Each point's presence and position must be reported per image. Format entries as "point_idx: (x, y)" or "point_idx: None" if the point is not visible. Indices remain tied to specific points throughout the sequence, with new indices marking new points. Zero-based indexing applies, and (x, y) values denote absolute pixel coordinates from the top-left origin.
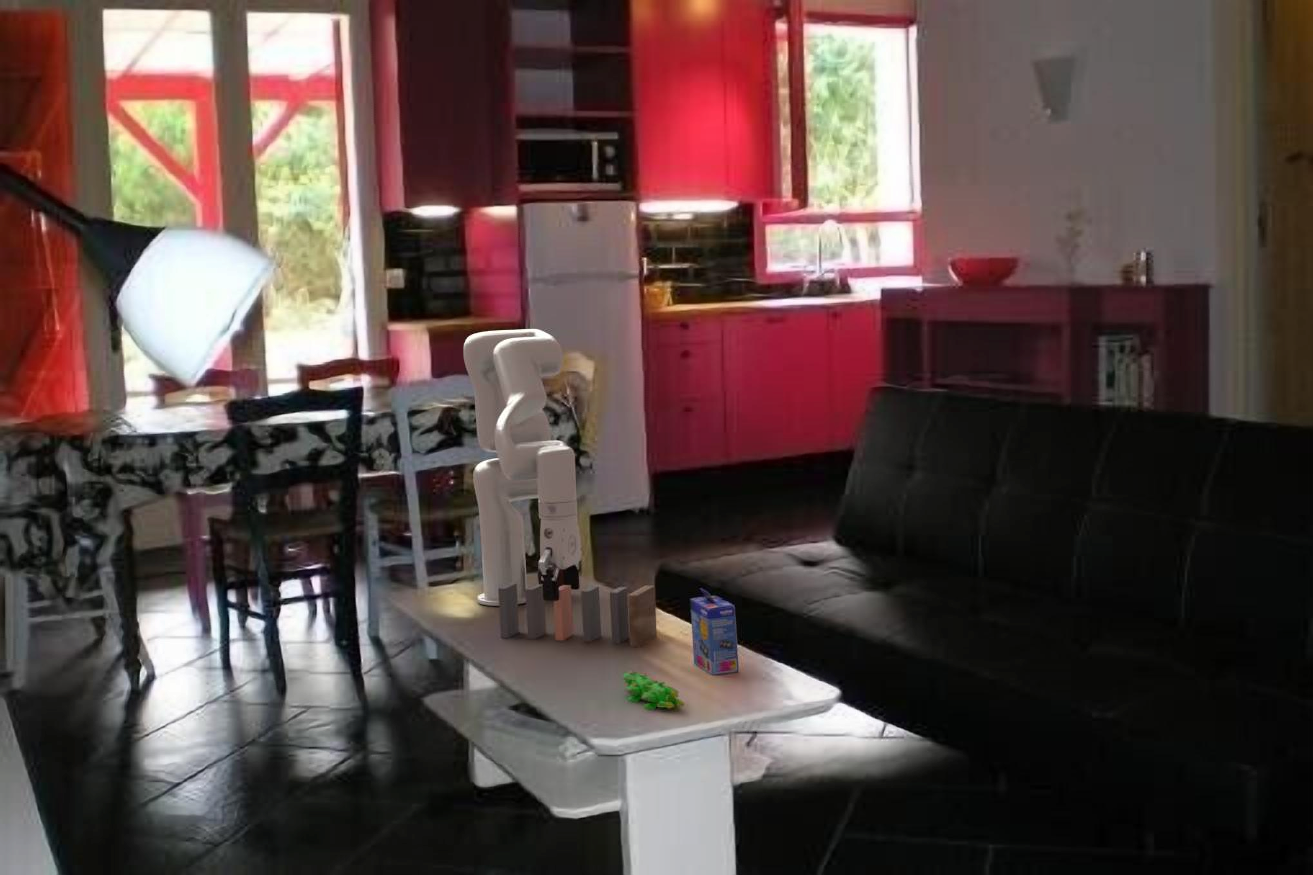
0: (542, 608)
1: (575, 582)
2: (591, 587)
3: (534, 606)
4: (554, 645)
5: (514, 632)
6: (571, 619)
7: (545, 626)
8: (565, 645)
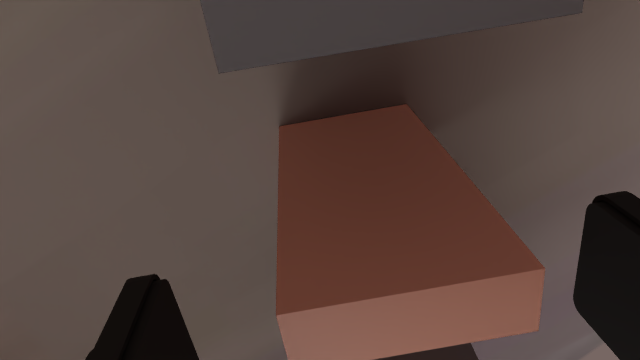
0: None
1: (154, 337)
2: (302, 14)
3: (459, 346)
4: (508, 87)
5: None
6: (294, 157)
7: None
8: (500, 32)
